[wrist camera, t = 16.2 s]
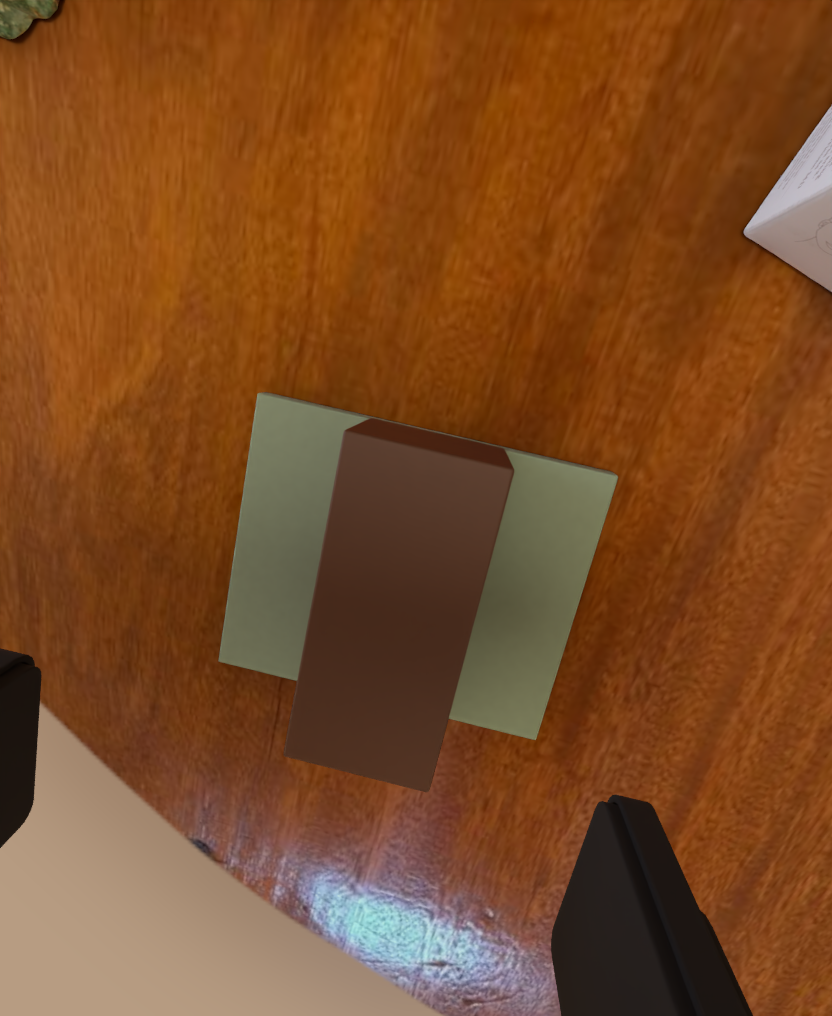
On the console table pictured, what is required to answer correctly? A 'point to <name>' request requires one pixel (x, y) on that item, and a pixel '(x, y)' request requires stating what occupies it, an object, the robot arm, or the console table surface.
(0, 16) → the seashell
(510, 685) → the mat
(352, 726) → the brown rectangular block
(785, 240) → the small box
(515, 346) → the console table surface
